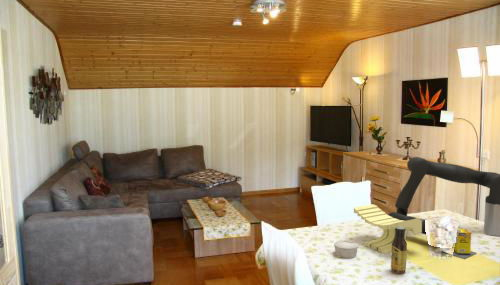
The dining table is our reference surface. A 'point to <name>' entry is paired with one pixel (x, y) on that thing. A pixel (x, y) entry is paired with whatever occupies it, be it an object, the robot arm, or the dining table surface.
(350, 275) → the dining table surface
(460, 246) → the supplement box
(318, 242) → the dining table surface
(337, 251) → the ramekin
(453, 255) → the mat
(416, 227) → the slatted curved stool
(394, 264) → the sauce bottle
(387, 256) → the dining table surface
